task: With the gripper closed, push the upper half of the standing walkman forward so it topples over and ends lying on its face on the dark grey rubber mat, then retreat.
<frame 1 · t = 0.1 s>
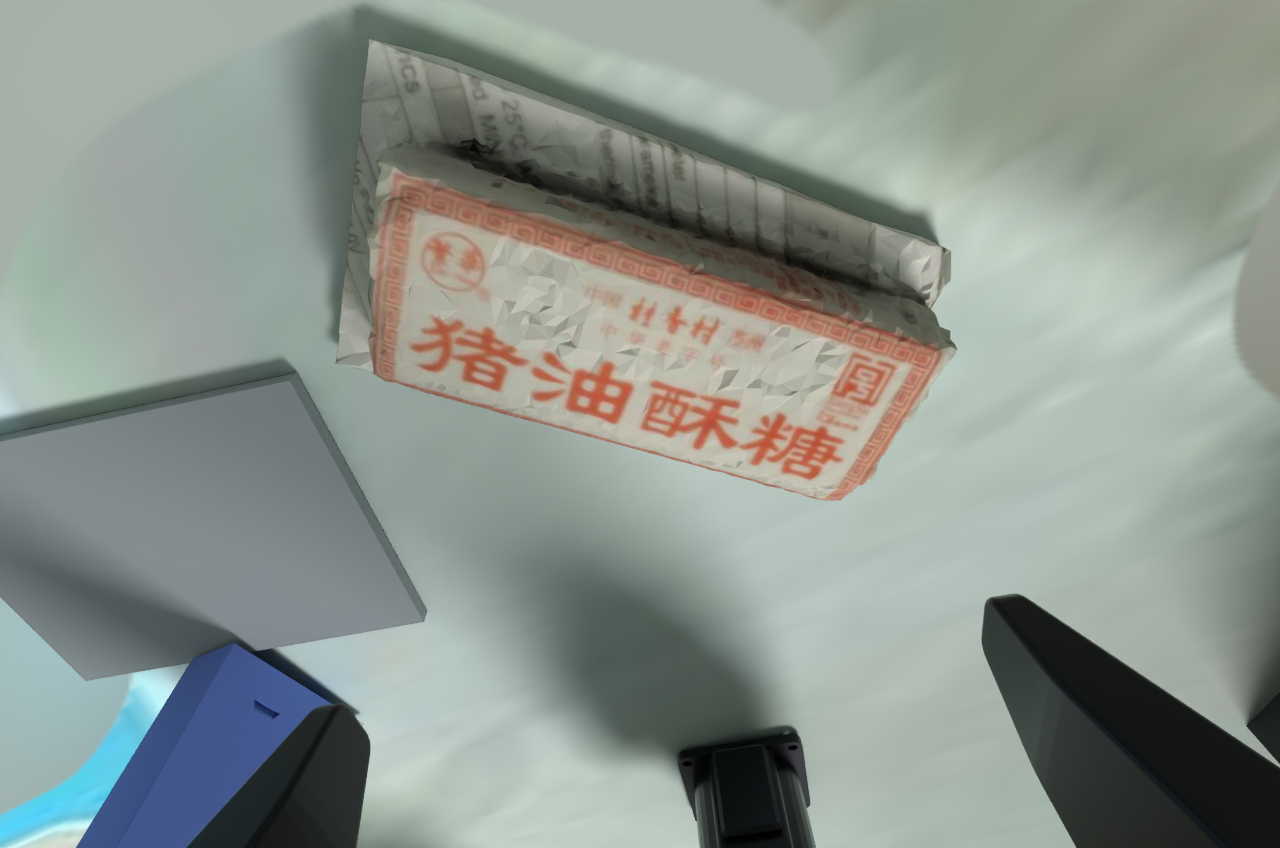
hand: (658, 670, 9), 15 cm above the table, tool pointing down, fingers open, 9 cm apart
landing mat: (181, 542, 27), on the table
packaged product: (636, 293, 22), on the table
walkman: (284, 687, 31), on the table, touching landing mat
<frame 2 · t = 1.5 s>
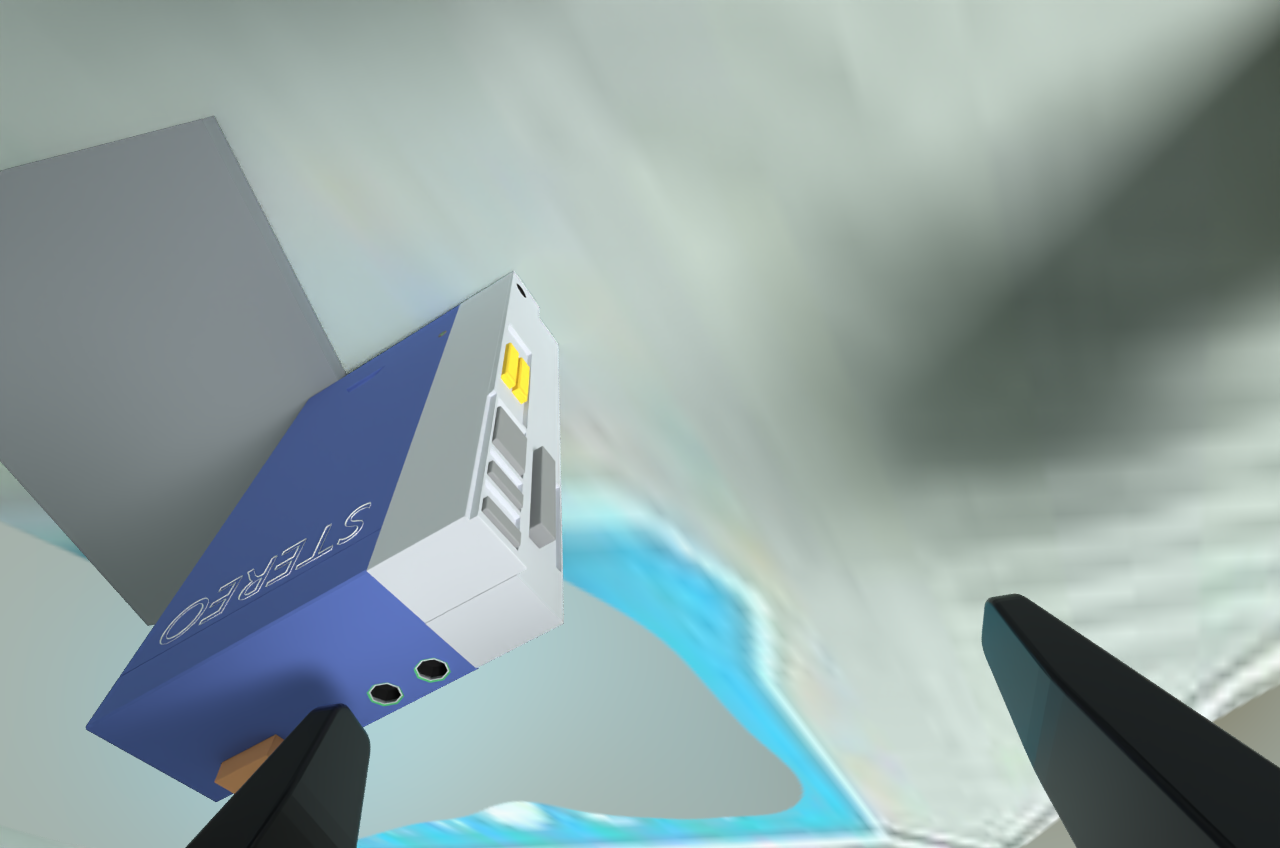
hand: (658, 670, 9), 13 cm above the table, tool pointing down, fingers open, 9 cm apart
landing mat: (179, 418, 22), on the table
walkman: (435, 366, 21), on the table, touching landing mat
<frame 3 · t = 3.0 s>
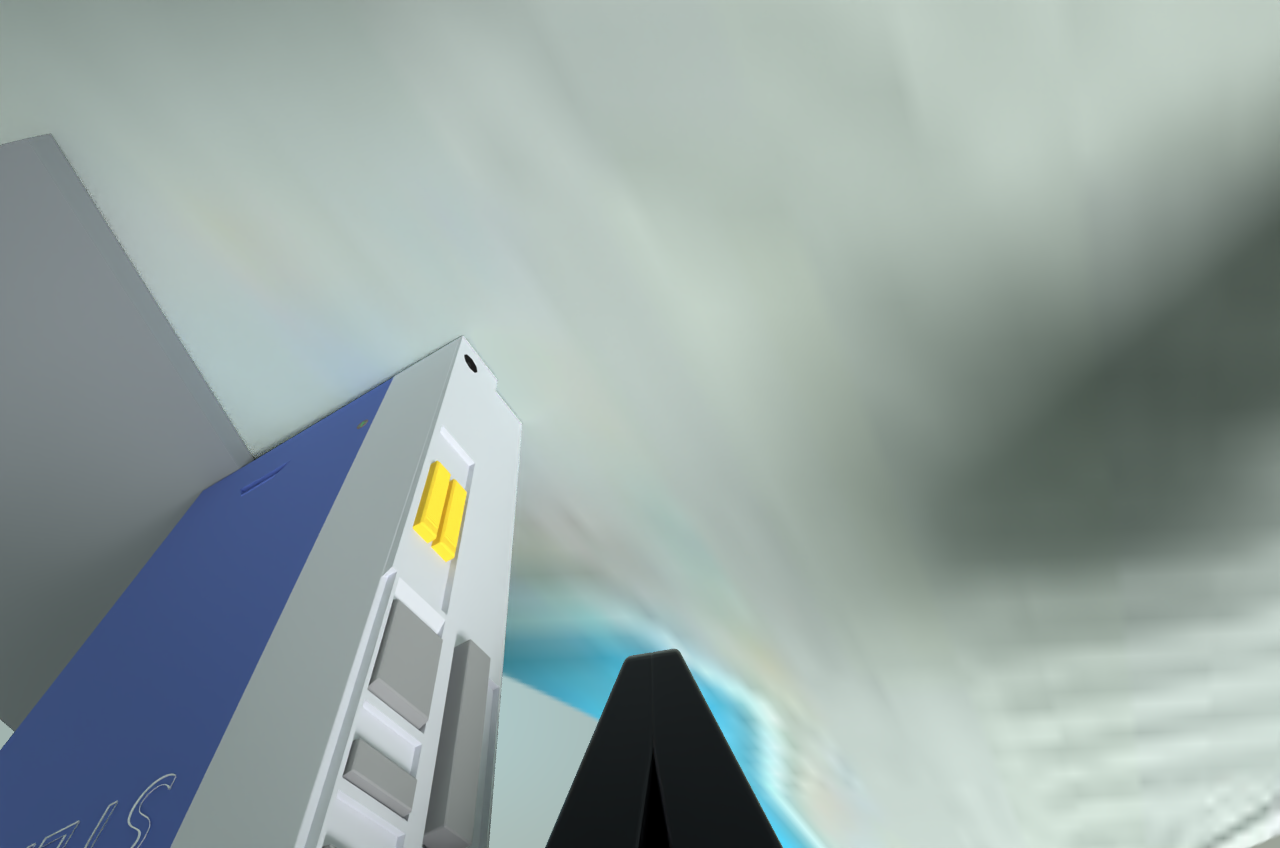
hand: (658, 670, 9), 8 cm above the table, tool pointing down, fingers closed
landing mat: (44, 508, 17), on the table
walkman: (365, 450, 17), on the table, touching gripper, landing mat
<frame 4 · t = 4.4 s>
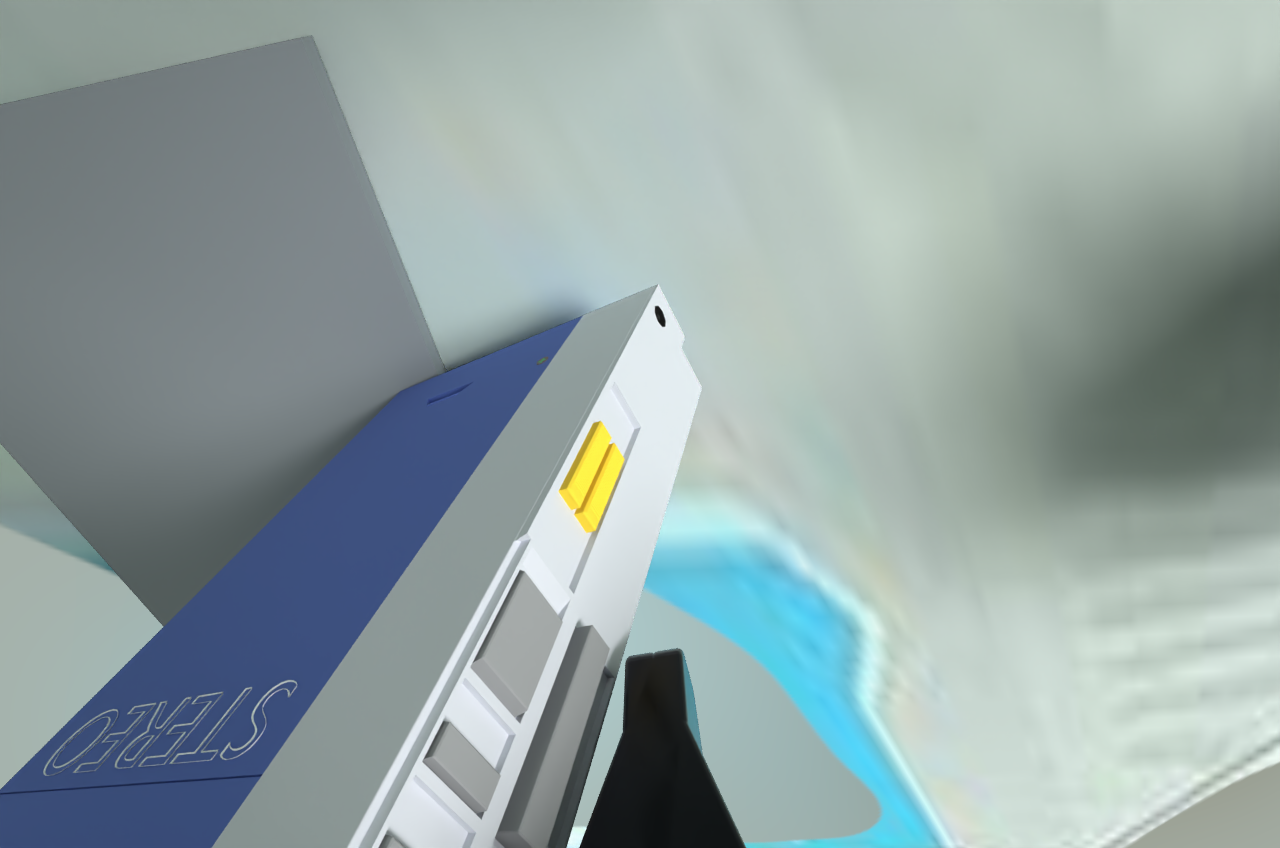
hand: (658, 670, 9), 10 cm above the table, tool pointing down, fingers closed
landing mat: (236, 412, 18), on the table
walkman: (545, 383, 17), point 1 cm above the table, touching gripper, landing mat
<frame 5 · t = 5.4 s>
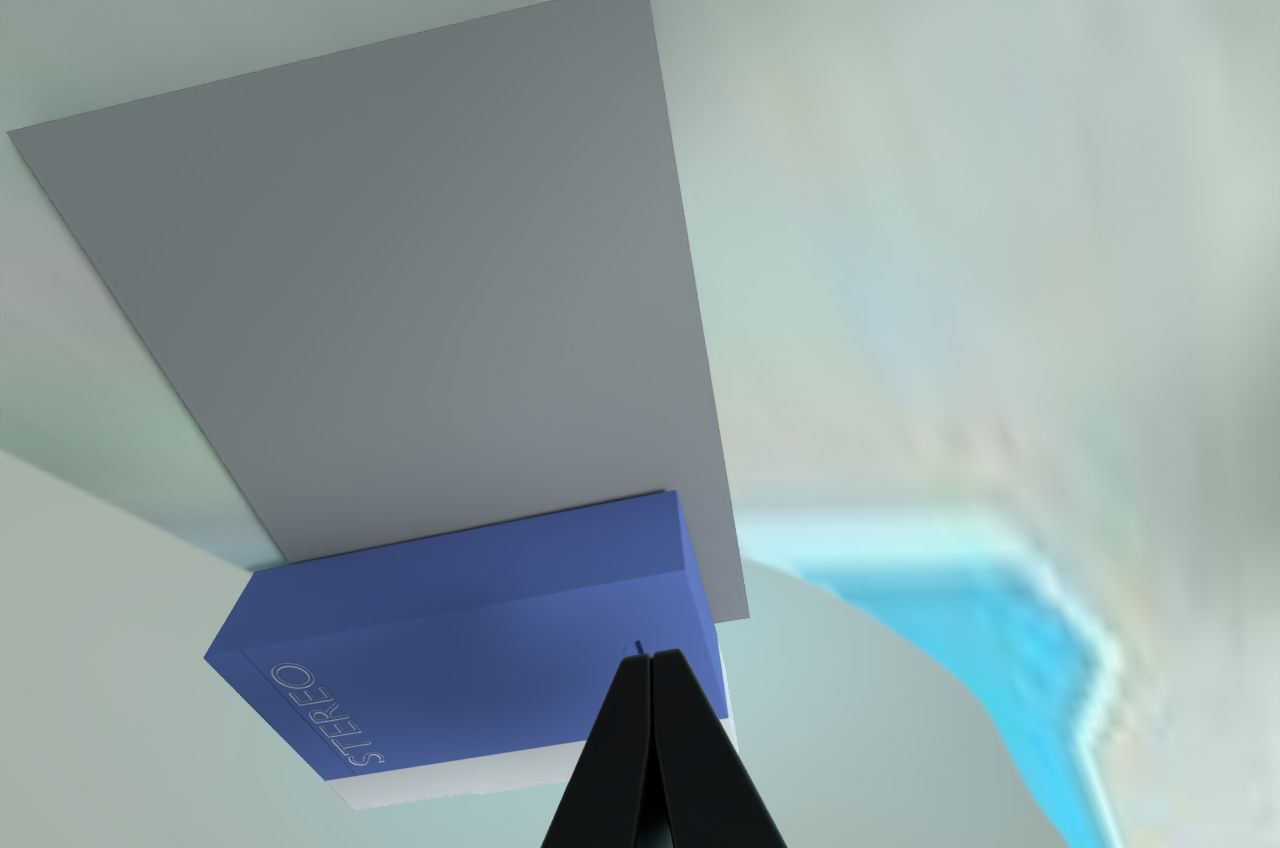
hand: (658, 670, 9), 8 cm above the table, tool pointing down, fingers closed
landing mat: (469, 418, 16), on the table
walkman: (718, 629, 18), point 2 cm above the table, touching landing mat
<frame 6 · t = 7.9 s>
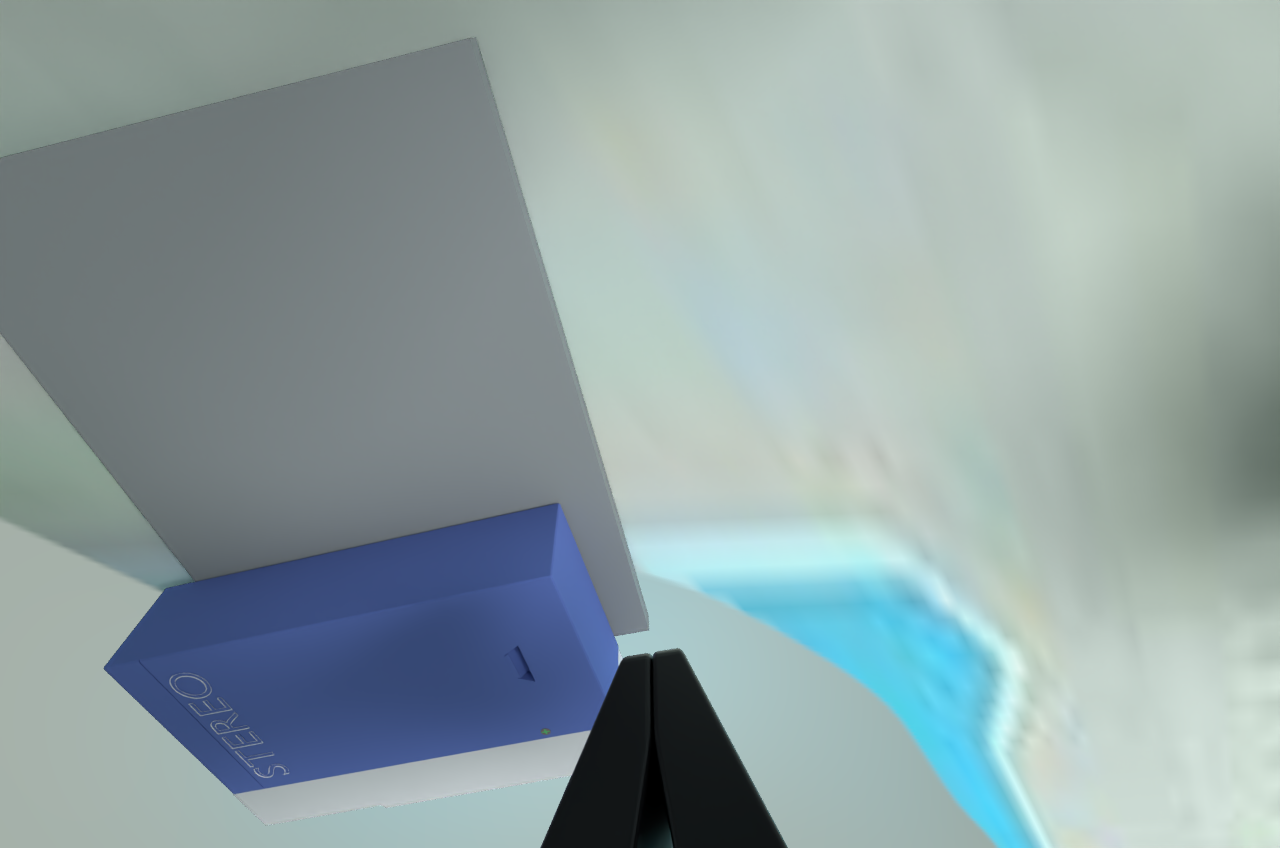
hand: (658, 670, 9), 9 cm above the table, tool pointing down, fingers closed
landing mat: (358, 443, 17), on the table
walkman: (606, 638, 18), point 2 cm above the table, touching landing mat
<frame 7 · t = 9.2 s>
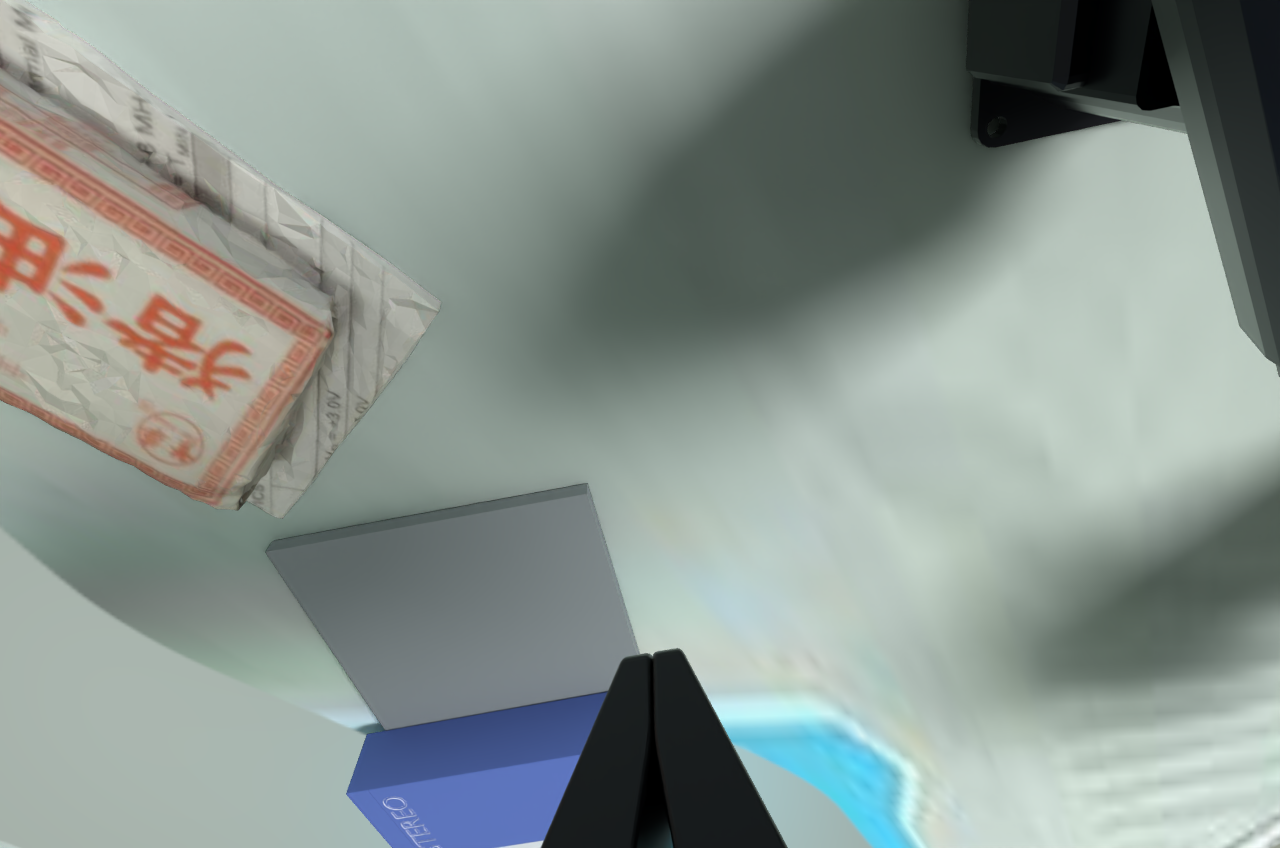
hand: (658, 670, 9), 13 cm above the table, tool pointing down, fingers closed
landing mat: (495, 655, 28), on the table
packaged product: (93, 225, 19), on the table
walkman: (643, 769, 29), point 2 cm above the table, touching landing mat
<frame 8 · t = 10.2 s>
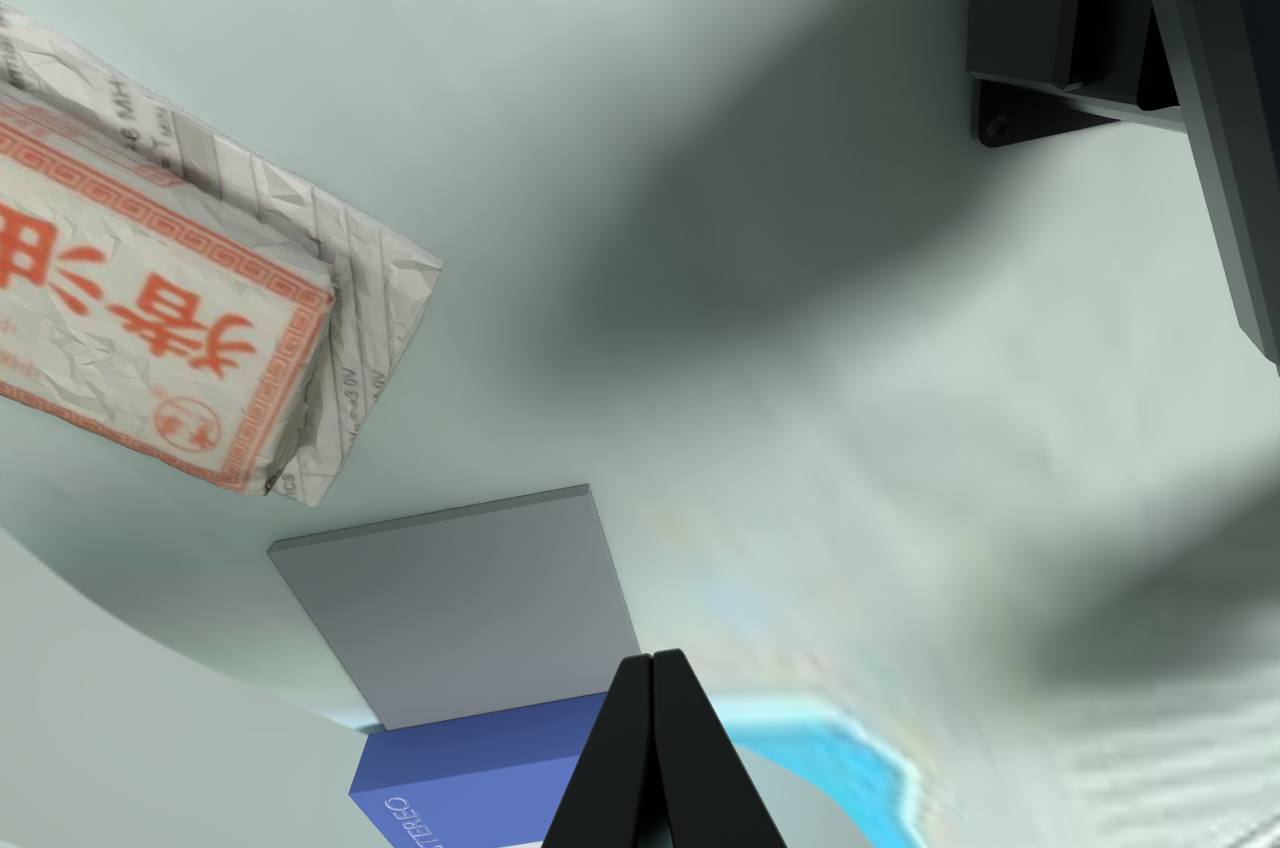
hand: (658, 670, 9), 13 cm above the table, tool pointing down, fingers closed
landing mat: (497, 656, 28), on the table
packaged product: (96, 228, 19), on the table
walkman: (645, 770, 29), point 2 cm above the table, touching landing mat
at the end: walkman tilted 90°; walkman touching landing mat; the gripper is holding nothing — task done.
